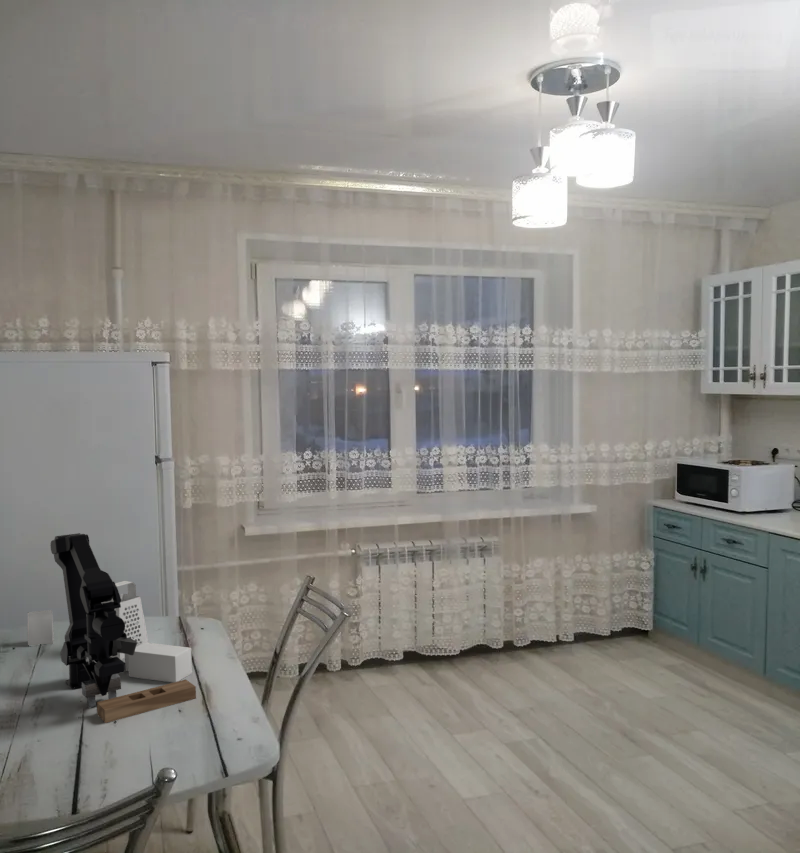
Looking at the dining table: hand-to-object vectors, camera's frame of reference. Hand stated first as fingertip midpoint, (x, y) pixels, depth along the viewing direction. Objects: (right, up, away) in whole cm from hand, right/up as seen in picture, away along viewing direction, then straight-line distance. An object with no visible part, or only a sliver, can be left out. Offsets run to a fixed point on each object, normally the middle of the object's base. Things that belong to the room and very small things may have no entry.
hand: (101, 693), depth 191 cm
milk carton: (+16, +2, +15) cm, 22 cm away
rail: (+12, -3, -2) cm, 12 cm away
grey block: (0, -3, 0) cm, 2 cm away
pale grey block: (-36, -1, +46) cm, 58 cm away
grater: (-8, -1, +38) cm, 39 cm away
